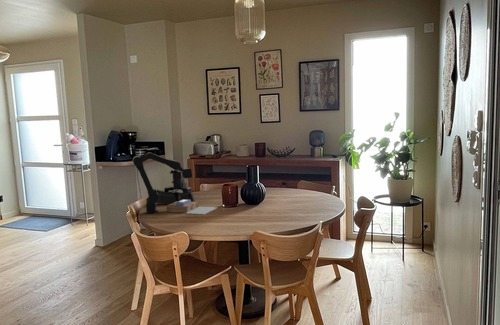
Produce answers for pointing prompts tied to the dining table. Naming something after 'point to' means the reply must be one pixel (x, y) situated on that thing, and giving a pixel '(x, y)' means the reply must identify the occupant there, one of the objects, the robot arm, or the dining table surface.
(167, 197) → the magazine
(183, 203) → the card box
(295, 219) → the dining table surface
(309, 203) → the dining table surface
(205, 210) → the mat
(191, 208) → the board
